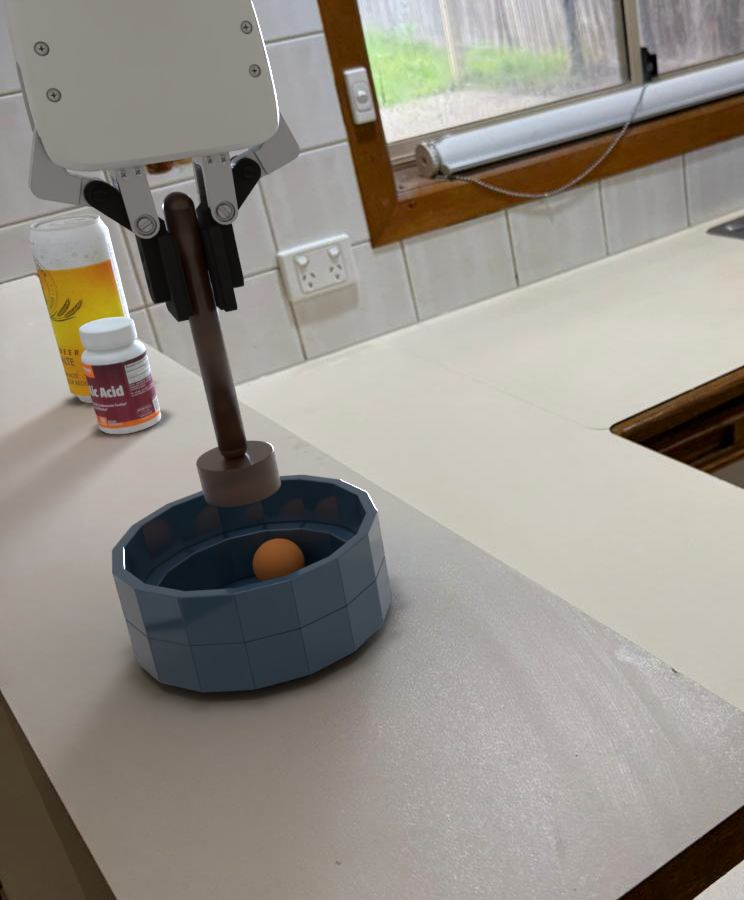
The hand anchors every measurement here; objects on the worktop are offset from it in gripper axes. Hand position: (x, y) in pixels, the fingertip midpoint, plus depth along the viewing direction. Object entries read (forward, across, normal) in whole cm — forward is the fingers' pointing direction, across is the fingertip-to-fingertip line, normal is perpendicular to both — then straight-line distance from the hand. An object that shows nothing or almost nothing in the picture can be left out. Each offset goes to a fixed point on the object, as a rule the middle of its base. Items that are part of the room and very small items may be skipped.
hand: (201, 307), depth 54 cm
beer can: (+18, +2, -47) cm, 51 cm away
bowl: (+18, 0, 0) cm, 18 cm away
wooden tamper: (+10, 0, 0) cm, 10 cm away
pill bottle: (+18, +2, -38) cm, 42 cm away
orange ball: (+16, -2, -3) cm, 16 cm away
